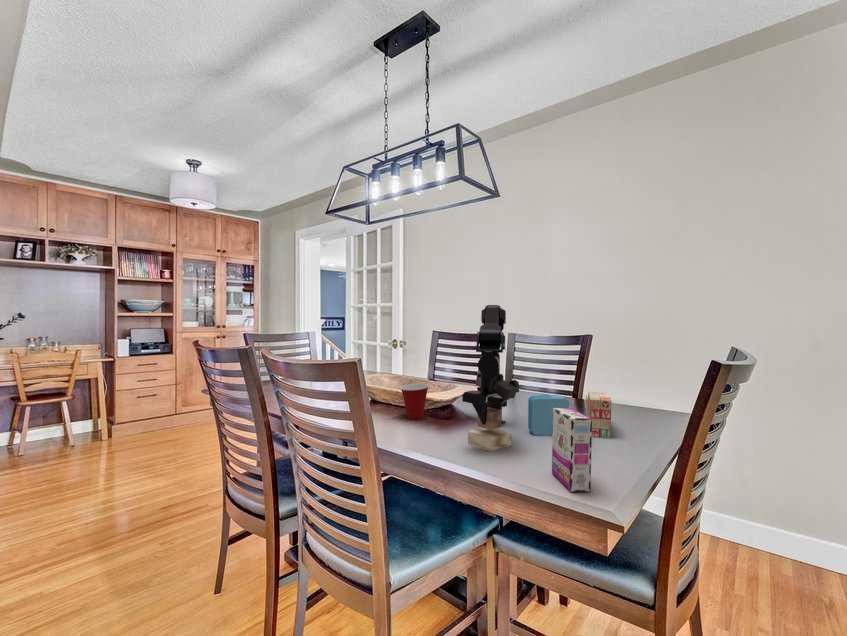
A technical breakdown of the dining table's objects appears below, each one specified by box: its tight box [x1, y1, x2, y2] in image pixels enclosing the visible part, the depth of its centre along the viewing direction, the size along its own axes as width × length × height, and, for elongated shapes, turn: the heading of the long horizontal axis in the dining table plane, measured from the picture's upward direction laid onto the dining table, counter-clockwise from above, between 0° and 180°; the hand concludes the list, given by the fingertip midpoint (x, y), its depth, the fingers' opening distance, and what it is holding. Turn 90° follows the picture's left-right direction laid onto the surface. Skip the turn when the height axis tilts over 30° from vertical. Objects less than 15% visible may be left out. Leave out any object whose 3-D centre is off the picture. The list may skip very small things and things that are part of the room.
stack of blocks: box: [585, 391, 613, 439], centre depth 143 cm, size 21×6×12 cm, turn 162°
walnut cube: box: [477, 407, 503, 430], centre depth 126 cm, size 5×5×5 cm
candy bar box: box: [551, 407, 593, 493], centre depth 98 cm, size 11×5×16 cm, turn 5°
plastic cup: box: [399, 383, 430, 420], centre depth 156 cm, size 11×11×12 cm
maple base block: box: [467, 427, 512, 452], centre depth 126 cm, size 9×9×4 cm
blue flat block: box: [527, 394, 570, 436], centre depth 137 cm, size 12×4×12 cm, turn 91°
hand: (489, 422), depth 126 cm, fingers open, 5 cm apart
